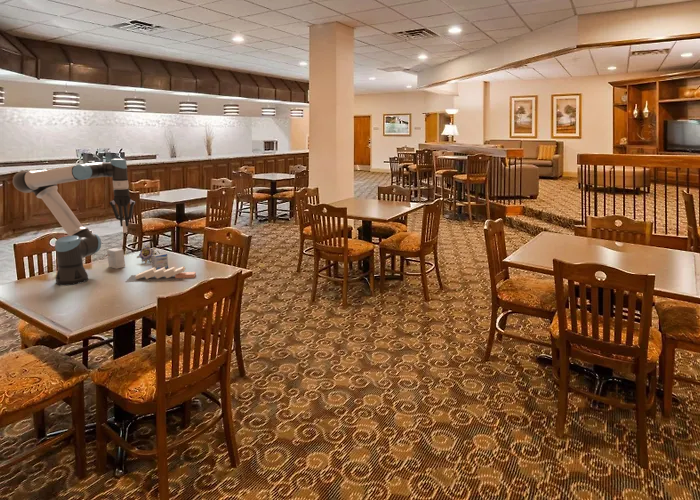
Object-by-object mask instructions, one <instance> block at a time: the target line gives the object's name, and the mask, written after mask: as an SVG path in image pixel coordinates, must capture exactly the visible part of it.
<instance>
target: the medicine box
mask: <svg viewBox="0 0 700 500" xmlns="http://www.w3.org/2000/svg"><path fill="white" fill-rule="evenodd" d="M156 254H157V255H152V256H151V261H150V262H151V268H154V267H155V268H156V270H158V269H161V268H163V267H165V269H169V259H168V253H165V252H164V253H163V252H162V253H161V252H160V254H159V253H156Z"/></svg>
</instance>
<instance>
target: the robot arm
mask: <svg viewBox="0 0 700 500" xmlns="http://www.w3.org/2000/svg"><path fill="white" fill-rule="evenodd" d="M128 175H129V174H128V165H127V160H126V159H125V158H112V159H110V162H100V161H95V162H94V161H93V162H90V163H80V164H76V165H69V166H64V167H58V168H53V169H44V168H37V169H28V170H21V171H18V172H17V173H15V174H14V175H13V177H12V185H13V187H14V188H15V189H16V190H17V191H19V192H22V193H24V194H28V193H29V194H31V193H33V194H34V196H35V197H36V198H37V199H41V200H42V201H43V204H45V206H46V207H47V208H48V209H49V211H50V212H51V214H52V215H53V216H54V218H55V220H57V222H58V223H59V225H60V226H61V228H62V229H63V230H64V231H65V233H66V234H67V235H66V236H62V237H59V238H58V239H56V241H55V242H54V249H55V254H56V255H55V256H56V263H57V272H56V277H55V283H56V284H57V285H60V286H61V285H64V286H65V285H66V286H69V285H77V284H82V283H84V282H87V281H88V280H89V275H88V272H87V271H86V268H85V267H84V264H83V259H84V258H87V257H89V256H92V255H94V254H97V253H98V252H99V251H100V250H101V249H102V240H101V238H100V235H98V234H97V233H95V232H91V231H90V229H89V228H88V227H84V226H83V225H82V223H81V222H80V221H79V219H78V218H77V216H76V215H75V214H74V212H73V211H72V209H71V208H70V207H69V205H68V204H67V203H66V201H65V200H64V199H63V197H62V196H61V194H60V193H59V192H58V190H59V189H58V185H59V184H65V183H71V182H77V181H83V180H84V181H85V180H90V179H98V178H112V187H113V200H111V201H109V205H110V206H111V209H112V211H113V215H114V217H115V219H116V220H118V221H120V222H119V223H120V227H122V234H123V233H124V234H125V233H128V227H129V226H130V223H129V220H131V219H132V218H133V213H134V206H135V205H136V201H135V200H132V199H131V197H130V196H131V195H130V189H129V187H130V186H129V178H128ZM116 205H117V206H116ZM128 205H130V207H129V206H128ZM117 207H118V209H117ZM128 207H129V210H128Z"/></svg>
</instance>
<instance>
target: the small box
mask: <svg viewBox="0 0 700 500" xmlns="http://www.w3.org/2000/svg"><path fill="white" fill-rule="evenodd" d="M106 253H107V254H106V255H107V262H108V263H107V264H108V267H109V268H113V269H116V270H117V269H121V268H125V267H126V262H125V254H124V253H125V252H124V249H123V248H116V247H113V248H109V249H107V250H106Z"/></svg>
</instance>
